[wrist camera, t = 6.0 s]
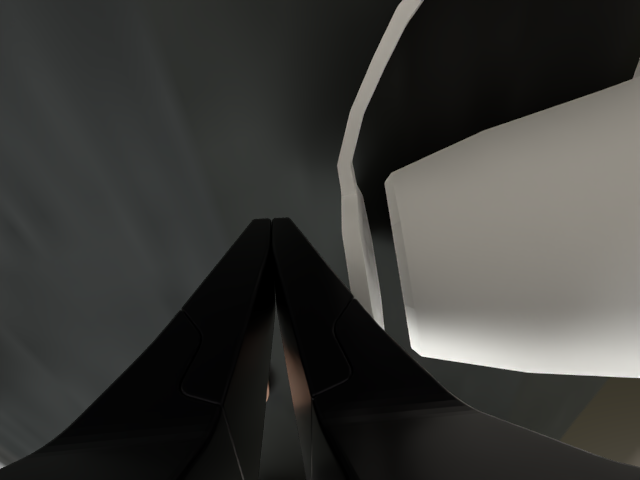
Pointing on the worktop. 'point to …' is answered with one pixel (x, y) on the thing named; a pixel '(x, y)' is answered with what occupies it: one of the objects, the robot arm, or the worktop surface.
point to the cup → (512, 235)
